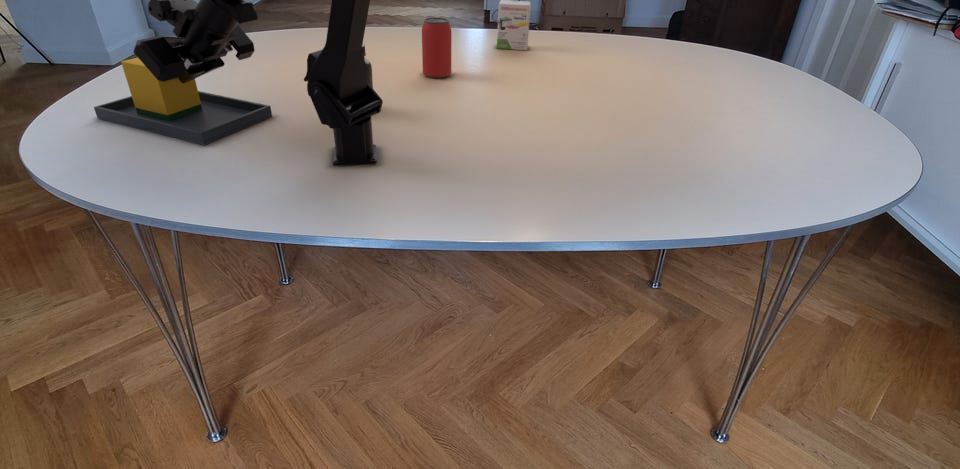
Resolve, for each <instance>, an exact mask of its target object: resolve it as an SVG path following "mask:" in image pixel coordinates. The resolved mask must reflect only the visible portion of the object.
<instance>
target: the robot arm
mask: <svg viewBox="0 0 960 469" xmlns="http://www.w3.org/2000/svg"><path fill="white" fill-rule="evenodd" d="M370 3H371V0H331V1H330V9H329V16H328V24H327V32H326V40H325V43H324V46H323V48H322V49H320V50H316V51H313V52H310V53H308V55H307V58H306V74H305V76H304V78H303V82H307V83H306V91H307V95H308V97H310V99H311V103H312V105H313V107H314V109H315V111H316V112H315V113H316V114H317V117H318V119H319V121H320V123H321V125H324V126H327V127H329V129H332V132H333V139H334V147H333V154H332V165H333V166H348V165H350V166H351V165H371V164H377V163H378V155H377V154H378V152H377V145H376V144H374V137H373V136H374V135H373V123H372V117H373V116H374V115H376V114H379V113H381V112H382V107H383V103H384V101H383V99H382V98H381V97H380V96H379V94H378V93H377V92H376V90H375V89H374V87H373V88H372V87H371V86H370V84H369V83H368V82H367V66H366V63H365V60H364V57H363V54H362V44H364V39H365V38H364V37H365V32H366V26H367V20H368V14H369V9H370V5H371V4H370ZM147 7H148V8H147V11H148V13H149V15H150V16H152V17H153V18H154V19H156V20H157V21H159V22H167V23H168V24H169V25H171V26H172V27H173V29H172V33H173V34H174V35H175V36H176V38H178V39H179V38H181V40H176V41H170V42H168V41H167V39H166V38H165V37H164V36H159V35H157V36H151V37H147V38H142V39H137V41H136V43H135V45H134V47H133V53H134V55H135V56H136V58H139V59H140V60H141V61H142V63H143V64H144V65H145V66H146V67H147V68H148V70H149V71H150V72H151V73H152V74H153V75H154V76H155V78H156V79H157V80H160V81H162V82H164V81H168V80H171V79H175V78H178V79H179V80H180V81H181V83H186V82H189V81H191V80H193V79H195V80H196V79H197V78H199V77H202V76H204V75H206V74H208V73H211V72H213V71H215V70H218V69H220V68H222V67H224V66H225V61H224V60H223V59H222V58H223V57H226V56H227V55H228V53H229V52H232V51H233V50H235V51H236V54H235V57H236V59H237V60H238V61H242V60H246V59H249V58H251V57H252V56H253V54H254V52H255V50H256V49H255V45H254V42H253V40H251V39H250V37H249V35H247V34H246V32H245V30H243V29H242V27H241V26H240V25H242V24H246V23H253V22H256V21H258V20H259V17H258V13H257V11H256V9H255V7H254V3H253V1H248V0H199V1H198V2H197V1H196V0H149V1H148V4H147ZM351 103H352V106H349V107H347V108H345V107H344V106H346V105H349V104H351Z"/></svg>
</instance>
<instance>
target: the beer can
mask: <svg viewBox="0 0 960 469" xmlns="http://www.w3.org/2000/svg"><path fill="white" fill-rule="evenodd" d="M421 47H422V48H421V56H422V58H421V60H422V74H423V75H424V76H425V77H428V78H432V79H443V78H447V77H449V76H450V75H451V74H452V27H451V24H450V20H449V19H448V18H446V17H426V18H424V19H423V23H422V27H421Z"/></svg>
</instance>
